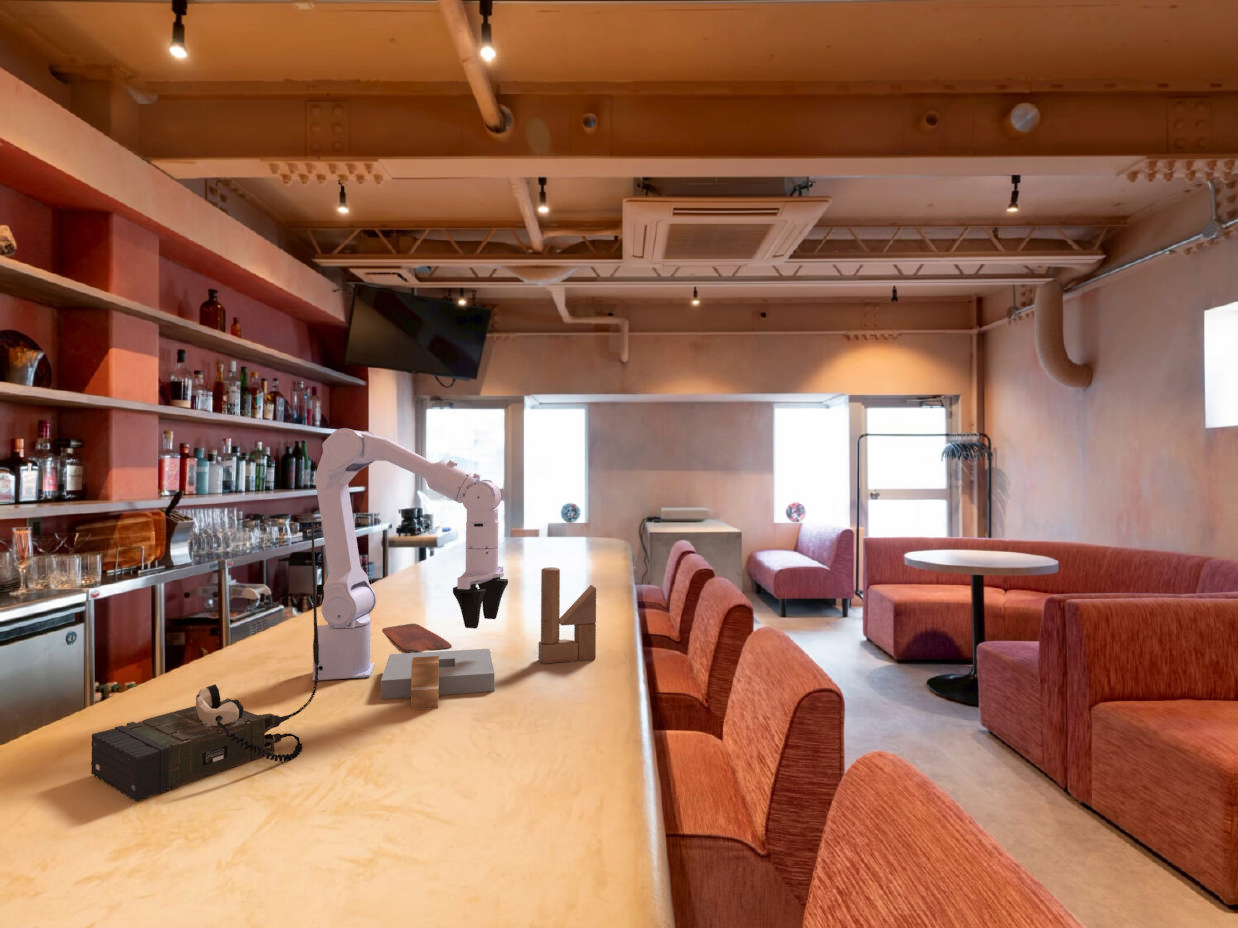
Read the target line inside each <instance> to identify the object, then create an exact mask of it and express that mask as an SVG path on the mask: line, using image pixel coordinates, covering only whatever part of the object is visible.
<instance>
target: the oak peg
mask: <svg viewBox="0 0 1238 928" xmlns="http://www.w3.org/2000/svg"><path fill="white" fill-rule="evenodd" d="M438 690H439V656H429V657H413V660H412V667H411V697H410V710H411V709H418V710H428V708H431V709H438V708H439V695H438Z"/></svg>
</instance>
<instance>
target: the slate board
mask: <svg viewBox="0 0 1238 928" xmlns="http://www.w3.org/2000/svg"><path fill="white" fill-rule="evenodd" d="M429 656H439V690H438V696H445V695H458V694H459V695H460V694H474V693H487V691H490V692H495V669H494V665H493V660H492V655H491V651H490V648H477V649H474V648H473V649H461V650H459V649H457V650H456V649H455V650H444V651H443V650H437V651H423V652H418V653H406V652H403V653H389V655H388V658H387V661H386V665H385V668H384V671H383V673H382V676H381V678H380V700H386V699H389V700H390V699H404V698H403V697H405V698H411V667H412V660H413V657H429Z"/></svg>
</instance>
